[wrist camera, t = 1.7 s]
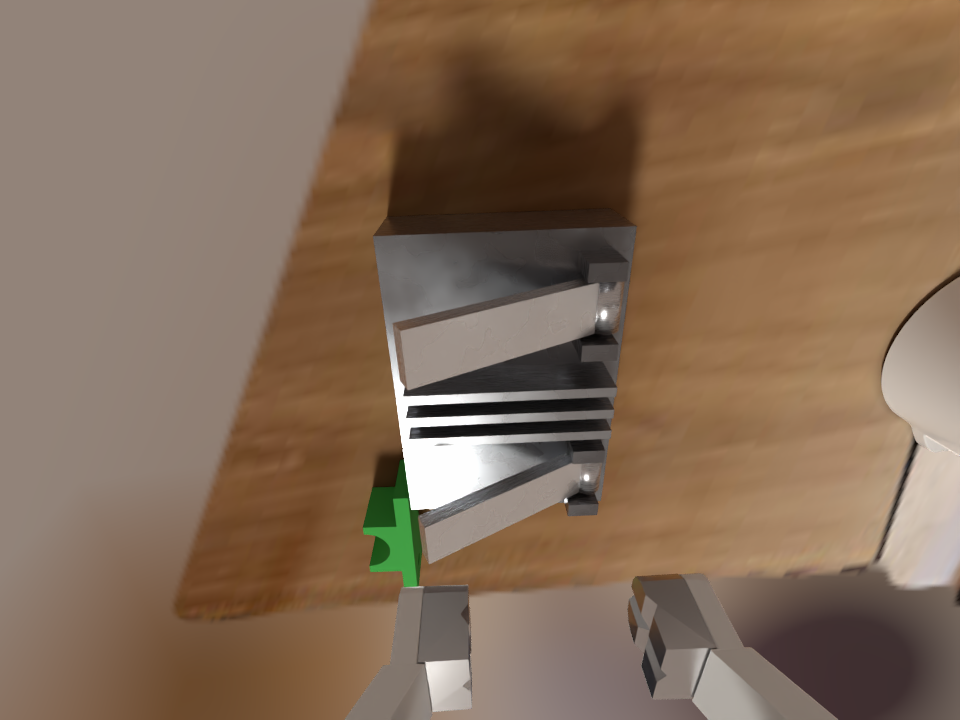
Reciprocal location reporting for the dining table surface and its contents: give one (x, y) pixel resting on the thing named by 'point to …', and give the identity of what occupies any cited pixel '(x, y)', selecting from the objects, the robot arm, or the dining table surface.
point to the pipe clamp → (394, 530)
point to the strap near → (503, 329)
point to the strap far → (503, 504)
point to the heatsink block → (512, 383)
